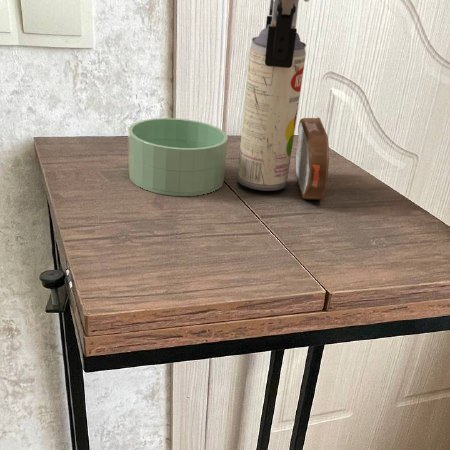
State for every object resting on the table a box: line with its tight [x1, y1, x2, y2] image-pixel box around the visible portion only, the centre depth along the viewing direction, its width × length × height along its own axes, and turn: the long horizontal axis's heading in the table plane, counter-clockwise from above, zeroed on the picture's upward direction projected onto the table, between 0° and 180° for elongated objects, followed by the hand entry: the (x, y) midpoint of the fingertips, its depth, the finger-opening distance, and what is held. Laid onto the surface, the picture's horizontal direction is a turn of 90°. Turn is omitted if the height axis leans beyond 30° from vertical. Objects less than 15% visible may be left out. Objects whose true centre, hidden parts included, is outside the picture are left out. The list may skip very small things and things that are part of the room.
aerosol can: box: [236, 12, 307, 192], centre depth 80 cm, size 7×7×20 cm
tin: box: [294, 116, 330, 201], centre depth 85 cm, size 15×3×8 cm, turn 0°
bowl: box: [127, 117, 229, 197], centre depth 84 cm, size 13×13×6 cm
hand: (276, 58), depth 77 cm, fingers closed on aerosol can, 6 cm apart
